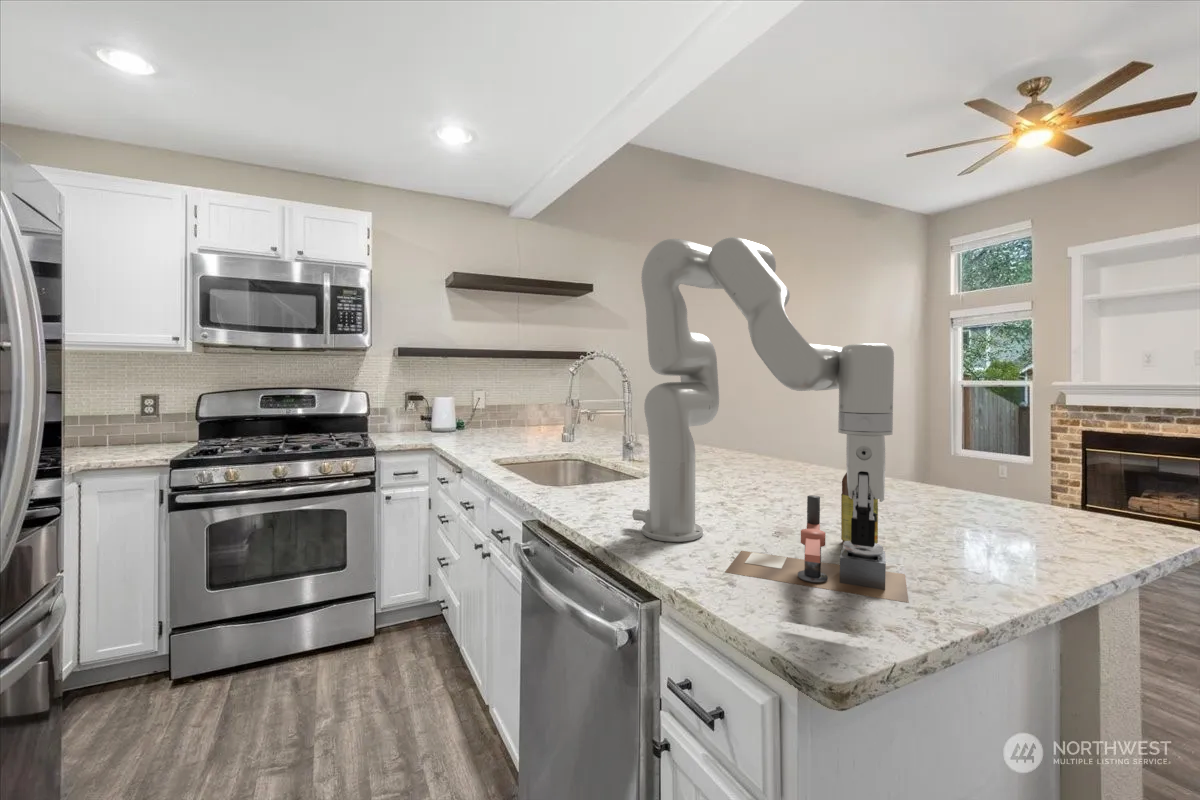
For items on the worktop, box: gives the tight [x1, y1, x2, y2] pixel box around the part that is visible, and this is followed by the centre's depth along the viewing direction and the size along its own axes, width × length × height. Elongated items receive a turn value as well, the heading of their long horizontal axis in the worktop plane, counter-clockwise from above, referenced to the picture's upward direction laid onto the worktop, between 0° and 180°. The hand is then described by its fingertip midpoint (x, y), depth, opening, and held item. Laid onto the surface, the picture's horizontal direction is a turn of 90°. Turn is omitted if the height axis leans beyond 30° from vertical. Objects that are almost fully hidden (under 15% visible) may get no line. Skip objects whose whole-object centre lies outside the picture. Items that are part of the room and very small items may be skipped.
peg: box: [842, 516, 884, 560], centre depth 83 cm, size 6×6×10 cm
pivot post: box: [798, 547, 828, 584], centre depth 84 cm, size 4×4×5 cm
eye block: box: [839, 545, 887, 590], centre depth 83 cm, size 6×6×4 cm
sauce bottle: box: [840, 472, 879, 545], centre depth 100 cm, size 6×6×20 cm
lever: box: [800, 494, 826, 563], centre depth 83 cm, size 18×4×6 cm, turn 158°
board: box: [724, 550, 910, 604], centre depth 86 cm, size 26×12×1 cm, turn 63°
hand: (863, 539), depth 83 cm, fingers open, 3 cm apart
